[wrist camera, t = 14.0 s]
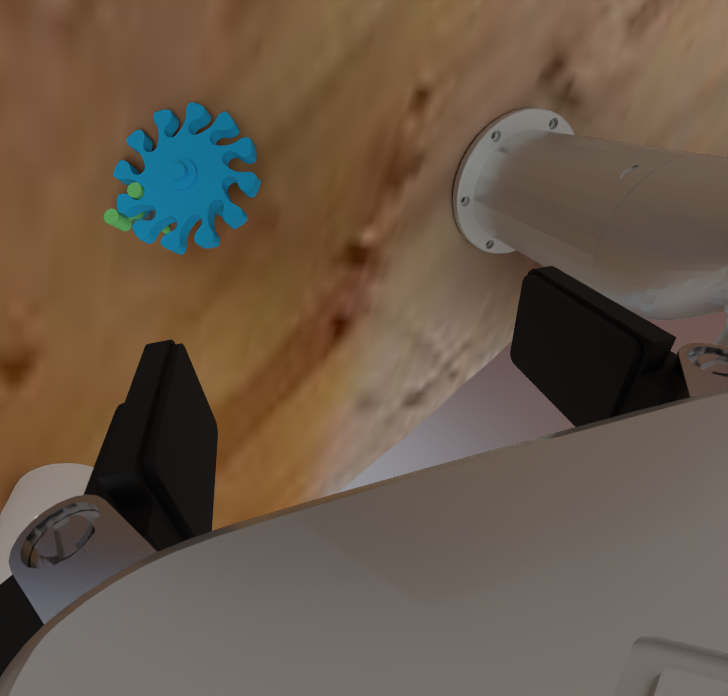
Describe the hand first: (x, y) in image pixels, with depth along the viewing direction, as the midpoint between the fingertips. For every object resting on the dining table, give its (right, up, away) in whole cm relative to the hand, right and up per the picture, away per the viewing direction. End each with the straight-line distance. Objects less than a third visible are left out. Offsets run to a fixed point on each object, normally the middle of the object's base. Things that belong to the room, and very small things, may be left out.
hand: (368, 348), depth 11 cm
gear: (-13, +13, +18) cm, 26 cm away
